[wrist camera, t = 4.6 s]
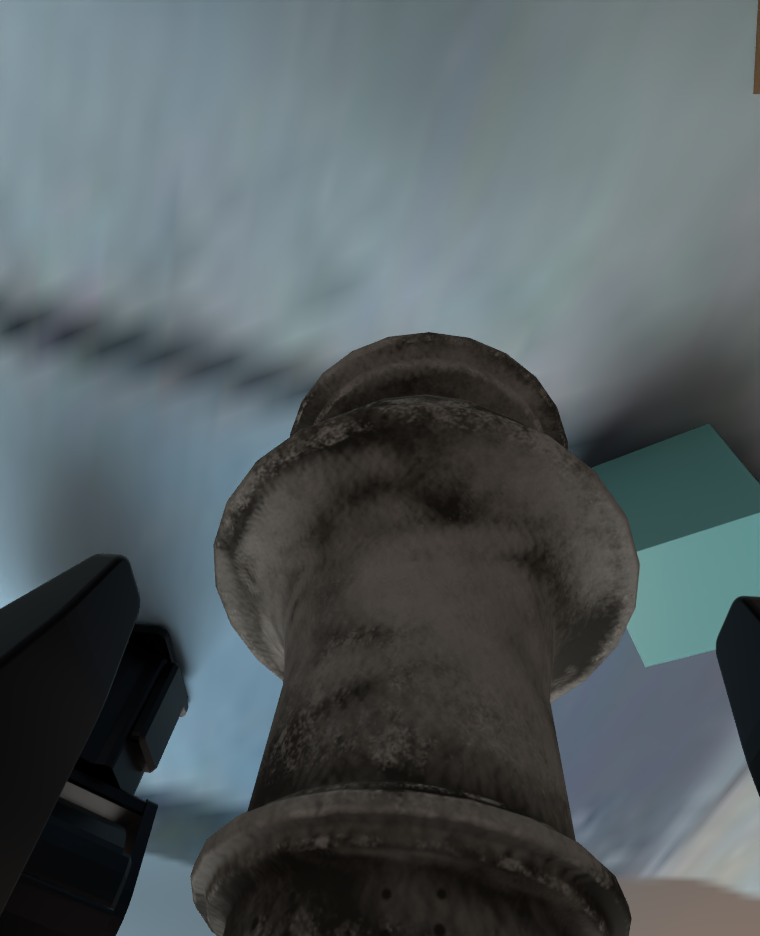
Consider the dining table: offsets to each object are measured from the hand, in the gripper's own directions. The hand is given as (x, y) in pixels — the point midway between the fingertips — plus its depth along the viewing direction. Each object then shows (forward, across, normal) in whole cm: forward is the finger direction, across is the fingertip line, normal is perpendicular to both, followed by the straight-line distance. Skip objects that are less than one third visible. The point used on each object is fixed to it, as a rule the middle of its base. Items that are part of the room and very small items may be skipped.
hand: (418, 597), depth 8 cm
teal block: (+13, -9, +7) cm, 17 cm away
